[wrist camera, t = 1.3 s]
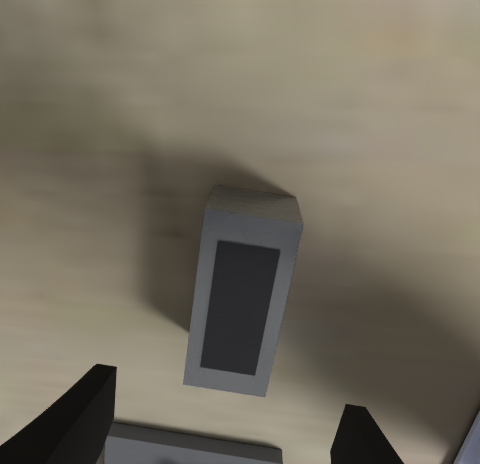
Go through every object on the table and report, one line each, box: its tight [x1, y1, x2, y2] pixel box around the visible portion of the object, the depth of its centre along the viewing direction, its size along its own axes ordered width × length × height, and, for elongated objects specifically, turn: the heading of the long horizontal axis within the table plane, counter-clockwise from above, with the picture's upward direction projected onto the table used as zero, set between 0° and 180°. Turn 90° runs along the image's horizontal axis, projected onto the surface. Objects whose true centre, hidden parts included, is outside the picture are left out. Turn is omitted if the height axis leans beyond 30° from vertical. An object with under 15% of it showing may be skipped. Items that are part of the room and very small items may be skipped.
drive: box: [183, 184, 303, 397], centre depth 19 cm, size 4×9×4 cm, turn 172°
